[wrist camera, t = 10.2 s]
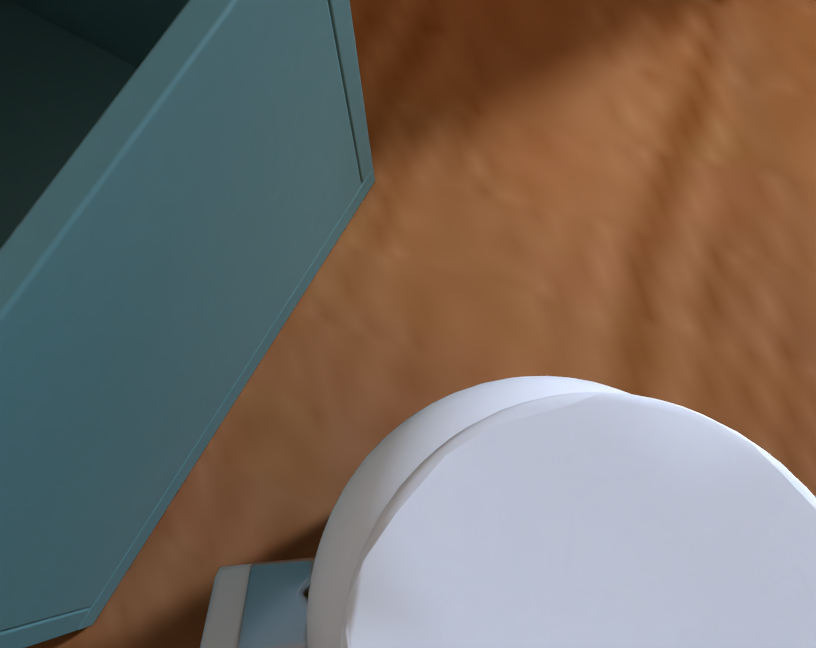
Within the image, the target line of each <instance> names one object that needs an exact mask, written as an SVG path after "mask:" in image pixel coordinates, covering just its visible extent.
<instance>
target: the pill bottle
mask: <svg viewBox="0 0 816 648" xmlns="http://www.w3.org/2000/svg"><path fill="white" fill-rule="evenodd" d="M307 645H308V648H816V498H815V496H814V495H813V494H812V493H811V492H810V491H809V489H808V488H807V487H805V486H804V485H803V484H802V483H801V482H800V481H799V480H798V479H797V478H796V477H795V476H794V475H793V474H792V473H791V472H790V471H789V470H788V469H787V468H786V467H785V466H784V465H783V464H781V463H780V462H779V461H778V460H776V459H775V458H774V457H773V456H771V455H770V454H769V453H767V452H766V451H765V450H764V449H762V448H761V447H759V446H758V445H756V444H755V443H753V442H752V441H750V440H749V439H747V438H746V437H744V436H743V435H741V434H740V433H738V432H736V431H734V430H733V429H731V428H729V427H727V426H725V425H723V424H721V423H719V422H717V421H715V420H713V419H711V418H709V417H707V416H705V415H703V414H700V413H698V412H695V411H693V410H690V409H688V408H685V407H683V406H680V405H676V404H673V403H669V402H666V401H662V400H658V399H653V398H649V397H644V396H639V395H632V394H629V393H626V392H624V391H621V390H619V389H615V388H612V387H609V386H606V385H603V384H599V383H596V382H592V381H586V380H580V379H575V378H566V377H555V376H527V377H515V378H508V379H503V380H497V381H492V382H487V383H482V384H479V385H476V386H473V387H470V388H467V389H464V390H461V391H459V392H456V393H453V394H451V395H449V396H446V397H444V398H442V399H440V400H438V401H436V402H434V403H432V404H430V405H428V406H427V407H425V408H424V409H422V410H420V411H419V412H417V413H415V414H414V415H413V416H411V417H410V418H408V419H407V420H406V421H404V422H403V423H402V424H400V425H399V426H398V427H397V428H396V429H394V430H393V431H392V432H391V433H390V434H389V435H388V436H386V437H385V438H384V439H383V440H382V441H381V442H380V443H379V444H378V445H377V446H376V447H375V448H374V449H373V450H372V451H371V452H370V453H369V454H368V456H367V457H366V458H365V459H364V461H363V462H362V463H361V465H360V466H359V467H358V469H357V470H356V472H355V473H354V474H353V476H352V477H351V479H350V480H349V481H348V483H347V485H346V486H345V488H344V490H343V491H342V493H341V495H340V497H339V499H338V501H337V503H336V505H335V507H334V508H333V510H332V512H331V514H330V517H329V519H328V522H327V524H326V527H325V529H324V532H323V534H322V537H321V540H320V544H319V547H318V550H317V553H316V557H315V562H314V566H313V570H312V575H311V581H310V587H309V593H308V605H307Z"/></svg>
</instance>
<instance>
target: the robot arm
mask: <svg viewBox="0 0 816 648" xmlns="http://www.w3.org/2000/svg"><path fill="white" fill-rule="evenodd" d="M815 498H816V496H815ZM314 562H315V557H311V558H301V559H290V560H279V561H268V562H258V563H252V564H242V565H232V566H222V567H220V569H219V570H218V572H217V574H216V576H215V580H214V584H213V589H212V593H211V598H210V603H209V607H208V612H207V617H206V621H205V626H204V630H203V635H202V640H201V644H200V648H308V645H307V605H308V593H309V587H310V581H311V575H312V570H313V566H314Z"/></svg>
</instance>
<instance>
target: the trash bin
mask: <svg viewBox="0 0 816 648" xmlns="http://www.w3.org/2000/svg"><path fill="white" fill-rule="evenodd" d="M374 182H375V177H374V170H373V164H372V157H371V150H370V143H369V136H368V128H367V121H366V114H365V107H364V100H363V93H362V86H361V79H360V72H359V65H358V57H357V50H356V43H355V36H354V29H353V22H352V15H351V8H350V1H349V0H0V648H27V647H30V646H33V645H36V644H39V643H42V642H45V641H48V640H51V639H54V638H56V637H59V636H62V635H65V634H68V633H71V632H74V631H76V630H77V631H78V630H81V629H84V628H87V627H90V626H92V625H93V624H94V622H95V620H96V619H97V617H98V616H99V614H100V613H101V611H102V609H103V608H104V606H105V605H106V603H107V602H108V600H109V598H110V597H111V595H112V594H113V592H114V591H115V589H116V587H117V586H118V584H119V583H120V581H121V580H122V578H123V576H124V575H125V573H126V572H127V570H128V569H129V567H130V565H131V564H132V562H133V561H134V559H135V558H136V556H137V554H138V553H139V551H140V550H141V548H142V547H143V545H144V543H145V542H146V540H147V539H148V537H149V536H150V534H151V532H152V531H153V529H154V528H155V526H156V525H157V523H158V521H159V520H160V518H161V517H162V515H163V514H164V512H165V510H166V509H167V507H168V506H169V504H170V503H171V501H172V499H173V498H174V496H175V495H176V493H177V492H178V490H179V488H180V487H181V485H182V484H183V482H184V481H185V479H186V477H187V476H188V474H189V473H190V471H191V470H192V468H193V466H194V465H195V463H196V462H197V460H198V459H199V457H200V455H201V454H202V452H203V451H204V449H205V448H206V446H207V444H208V443H209V441H210V440H211V438H212V437H213V435H214V433H215V432H216V430H217V429H218V427H219V426H220V424H221V422H222V421H223V419H224V418H225V416H226V415H227V413H228V411H229V410H230V408H231V407H232V405H233V404H234V402H235V400H236V399H237V397H238V396H239V394H240V393H241V391H242V389H243V388H244V386H245V385H246V383H247V382H248V380H249V378H250V377H251V375H252V374H253V372H254V371H255V369H256V367H257V366H258V364H259V363H260V361H261V360H262V358H263V356H264V355H265V353H266V352H267V350H268V349H269V347H270V345H271V344H272V342H273V341H274V339H275V338H276V336H277V334H278V333H279V331H280V330H281V328H282V327H283V325H284V323H285V322H286V320H287V319H288V317H289V316H290V314H291V312H292V311H293V309H294V308H295V306H296V305H297V303H298V301H299V300H300V298H301V297H302V295H303V294H304V292H305V290H306V289H307V287H308V286H309V284H310V283H311V281H312V279H313V278H314V276H315V275H316V273H317V272H318V270H319V268H320V267H321V265H322V264H323V262H324V261H325V259H326V257H327V256H328V254H329V253H330V251H331V250H332V248H333V246H334V245H335V243H336V242H337V240H338V239H339V237H340V235H341V234H342V232H343V231H344V229H345V228H346V226H347V224H348V223H349V221H350V220H351V218H352V217H353V215H354V213H355V212H356V210H357V209H358V207H359V206H360V204H361V202H362V201H363V199H364V198H365V196H366V195H367V193H368V191H369V190H370V188H371V187H372V185H373V184H374Z"/></svg>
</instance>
